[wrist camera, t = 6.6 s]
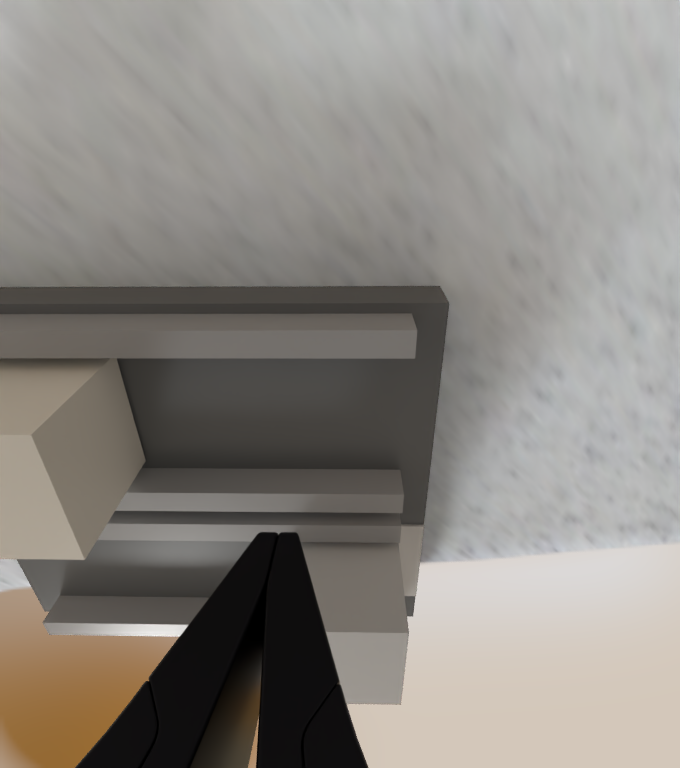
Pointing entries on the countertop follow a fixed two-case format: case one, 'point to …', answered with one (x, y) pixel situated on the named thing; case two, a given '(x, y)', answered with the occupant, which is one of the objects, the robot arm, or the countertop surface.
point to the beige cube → (62, 454)
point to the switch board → (241, 432)
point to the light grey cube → (362, 616)
